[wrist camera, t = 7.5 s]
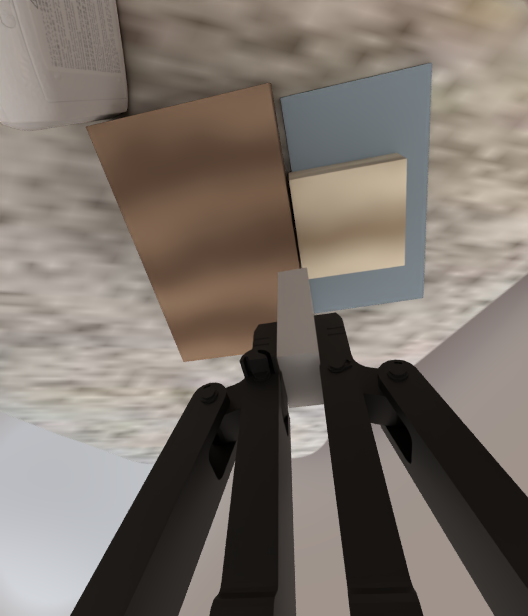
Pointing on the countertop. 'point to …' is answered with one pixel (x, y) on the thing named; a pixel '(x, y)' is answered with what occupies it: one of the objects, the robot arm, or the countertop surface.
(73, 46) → the photo printer
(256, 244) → the board
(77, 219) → the countertop surface
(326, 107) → the rubber mat
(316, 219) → the birch tile
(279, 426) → the robot arm
